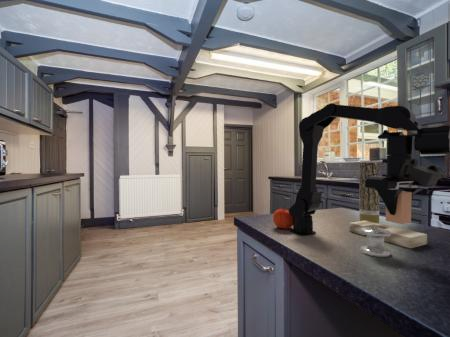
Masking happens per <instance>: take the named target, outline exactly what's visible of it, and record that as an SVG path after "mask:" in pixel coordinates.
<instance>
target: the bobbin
mask: <svg viewBox="0 0 450 337" xmlns="http://www.w3.org/2000/svg"><path fill="white" fill-rule="evenodd" d="M361 233H362V234H365V236H366V245H361V246H360V252H361V253H362V254H364V255H367V256H371V257H375V258H389V257H391V256H392V251H391V250H390V249H389V248H386V247H385V241H384V237H390V236H391V232H390V231H389V230H386V229H381V228H374V227H364V228H361Z"/></svg>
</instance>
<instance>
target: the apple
mask: <svg viewBox="0 0 450 337" xmlns="http://www.w3.org/2000/svg"><path fill="white" fill-rule="evenodd" d="M272 221H273V224H274V225H275V226H276V227H277V228H279V229H285V230H288V229H290V228H291V229H292V228H293V216H290V214H289V209H285V206H282V208H279V209H277V210H275V211H274V212H273V215H272Z"/></svg>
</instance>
